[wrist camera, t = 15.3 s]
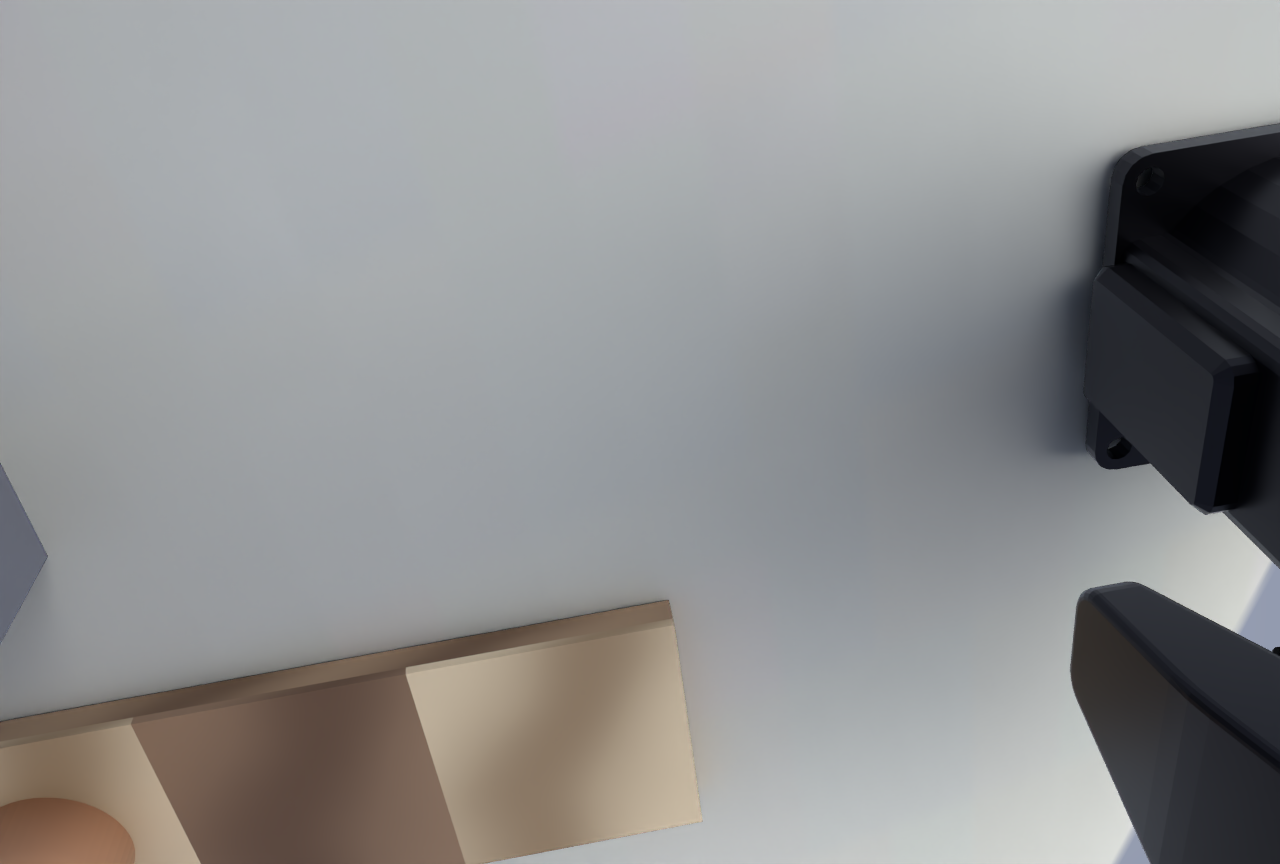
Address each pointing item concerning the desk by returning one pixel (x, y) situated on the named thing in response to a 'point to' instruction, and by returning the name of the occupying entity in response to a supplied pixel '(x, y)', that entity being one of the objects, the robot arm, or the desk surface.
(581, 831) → the track
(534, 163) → the desk surface
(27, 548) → the die
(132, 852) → the tan rounded peg
